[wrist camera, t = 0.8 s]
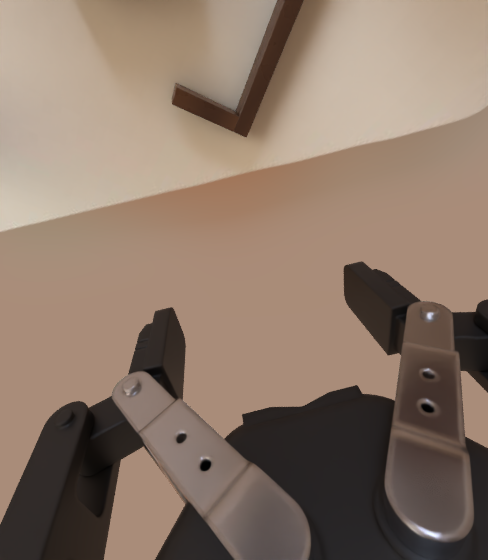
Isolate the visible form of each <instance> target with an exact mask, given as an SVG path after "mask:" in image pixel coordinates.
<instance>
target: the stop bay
mask: <svg viewBox="0 0 488 560" xmlns="http://www.w3.org/2000/svg"><path fill="white" fill-rule="evenodd" d="M302 3H303V0H277V3H276V5H275V8H274V11H273V13H272V16H271V19H270V21H269V24H268V27H267V29H266V32H265V35H264V37H263V40H262V42H261V45H260V48H259V50H258V53H257V56H256V58H255V61H254V64H253V66H252V69H251V72H250V74H249V77H248V80H247V82H246V85H245V88H244V90H243V93H242V96H241V98H240V101H239V104H238V106H237V109H236V112H235V111H234V110H231V109H229V108H227V107H225V106H223V105H221V104H219V103H217V102H215V101H213V100H211V99H209V98H206V97H204V96H202V95H200V94H198V93H196V92H194V91H192V90H190V89H188V88H186V87H184V86H181V85H179V84H177V83H176V84H175V88H174V92H173V96H172V104H173V105H175V106H177V107H179V108H182V109H184V110H186V111H188V112H191V113H193V114H195V115H197V116H200V117H202V118H204V119H206V120H208V121H211V122H213V123H215V124H217V125H220V126H222V127H224V128H226V129H229V130H231V131H233V132H235V133H237V134H240V135H242V136H244V137H247V135H248V132H249V130H250V128H251V125H252V123H253V120H254V118H255V116H256V113H257V111H258V108H259V106H260V104H261V101H262V99H263V96H264V94H265V92H266V89H267V87H268V84H269V82H270V80H271V77H272V75H273V72H274V70H275V68H276V65H277V63H278V60H279V58H280V55H281V53H282V51H283V48H284V46H285V43H286V41H287V39H288V36H289V34H290V31H291V29H292V27H293V24H294V22H295V19H296V17H297V15H298V12H299V10H300V7H301V5H302Z"/></svg>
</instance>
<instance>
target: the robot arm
mask: <svg viewBox="0 0 488 560" xmlns="http://www.w3.org/2000/svg"><path fill="white" fill-rule="evenodd" d="M344 296H345V300H346V303H347V305H348V306H349V308H350V309H351V310H352V311H353V313H354V314H355V315H356V316H357V318H358V319H359V320H360V321H361V322H362V323H363V325H364V326H365V327H366V329H367V330H368V331H369V332H370V334H371V335H372V336H373V337H374V339H375V340H376V341H377V342H378V343H379V345H380V346H381V347H382V348H383V350H384V351H385V352H386V353H387V355H392V354H396V353H400V355H401V359H400V367H399V375H398V382H397V390H396V397H395V401H394V400H392V399H389V398H386V397H382V396H377V395H370V394H362V393H361V391H360V389H359V387H358V386H357V385H356V386H353V387H348V388H344V389H340V390H336V391H332V392H329V393H327V394H325V395H323V396H321V397H320V398H318V399H316V400H314V401H312V402H310V403H309V404H307V405H305V406H302V407H269V408H265V409H262V410H258V411H254V412H250V413H246V414H243V415H242V417H243V425H241V426H239V427H238V428H236V429H235V430H233V431H232V432H231V433H230V434H229V435H228V436H227V437H226V438H225V439H223V438H222V437H221V436H220V435H219V434H218V433H217V432H216V431H215V430H214V429H213V428H212V427H211V426H210V425H209V424H207V423H206V422H205V421H204V420H203V419H202V418H201V417H200V416H199V415H198V414H197V413H196V412H195V411H194V410H193V409H191V408H190V407H189V406H188V405H187V404H186V403H185V402H184V401H183V383H184V365H185V347H186V346H185V338H184V334H183V331H182V329H181V326H180V324H179V321H178V319H177V316H176V314H175V311H174V309H173V308H166V309H162V310H158V311H155V314H154V318H153V323H151V324H147V325H146V326H145V327H144V328H143V329H142V331H141V332H140V333H139V337H138V341H137V344H136V348H135V352H134V355H133V359H132V363H131V366H130V370H129V373H128V375H127V376H125V377H124V378H123V379H121V380H120V381H119V382H118V383H117V385H116V386H115V387H114V389H113V392H112V396H111V397H109V398H107V399H105V400H103V401H101V402H99V403H97V404H95V405H93V406H91V407H90V408H88V406H87V405H86V404H85V403H84V402H80V401H77V402H72V403H69V404H67V405H65V406H63V407H61V408H60V409H59V410H57V411H56V412H55V413H54V414H53V415H52V416H51V417H50V418H49V419H48V421H47V422H46V424H45V426H44V428H43V430H42V432H41V434H40V437H39V439H38V441H37V443H36V446H35V448H34V450H33V453H32V455H31V457H30V459H29V462H28V464H27V466H26V468H25V470H24V473H23V475H22V477H21V479H20V482H19V484H18V486H17V488H16V491H15V493H14V495H13V497H12V500H11V502H10V504H9V507H8V509H7V511H6V513H5V515H4V518H3V520H2V522H1V524H0V560H104V554H105V548H106V542H107V537H108V531H109V525H110V519H111V513H112V507H113V502H114V495H115V490H116V484H117V478H118V472H119V467H120V461H121V459H123V458H124V457H126V456H128V455H130V454H131V453H133V452H135V451H136V450H138V449H140V448H142V447H144V448H145V449H146V451H147V452H148V453H149V455H150V456H151V458H152V459H153V460H154V461H155V463H156V464H157V466H158V467H159V468H160V470H161V471H162V472H163V474H164V475H165V477H166V478H167V479H168V481H169V482H170V484H171V485H172V486H173V488H174V489H175V491H176V492H177V494H178V495H179V496H180V498H181V499H182V501H183V502H184V503H185V507H184V508H183V510H182V512H181V514H180V515H179V517H178V519H177V521H176V523H175V525H174V526H173V528H172V530H171V532H170V534H169V535H168V537H167V539H166V541H165V542H164V544H163V546H162V548H161V550H160V552H159V553H158V555H157V557H156V559H155V560H488V448H486V447H484V446H482V445H480V444H478V443H476V442H474V441H473V440H471V439H469V438H467V437H465V430H464V415H463V401H462V386H461V372H460V371H467V372H468V373H469V374H470V375H471V376H472V377H473V378H474V379H475V380H476V381H477V382H478V383H479V384H480V385H481V386H482V387H483V388H484V389H485V390H486V391H487V392H488V300H484V301H482V302H480V303H479V304H478V305H477V309H476V312H457V313H453V312H451V311H450V310H449V309H448V308H446V307H445V306H443V305H441V304H438V303H435V302H428V301H420V300H419V299H418V298H417V297H415V296H414V295H413V294H412V293H411V292H409V291H408V290H407V289H406V288H404V287H403V286H401V285H400V284H399V283H398V282H397V281H395V280H394V279H393V278H392V277H391V276H390V275H388V274H387V273H385V272H382V271H380V270H377V269H374V270H372V269H371V268H369V267H368V266H367V265H366V264H365V263H364V262H357V263H353V264H349V265H346V266H345V267H344Z"/></svg>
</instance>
